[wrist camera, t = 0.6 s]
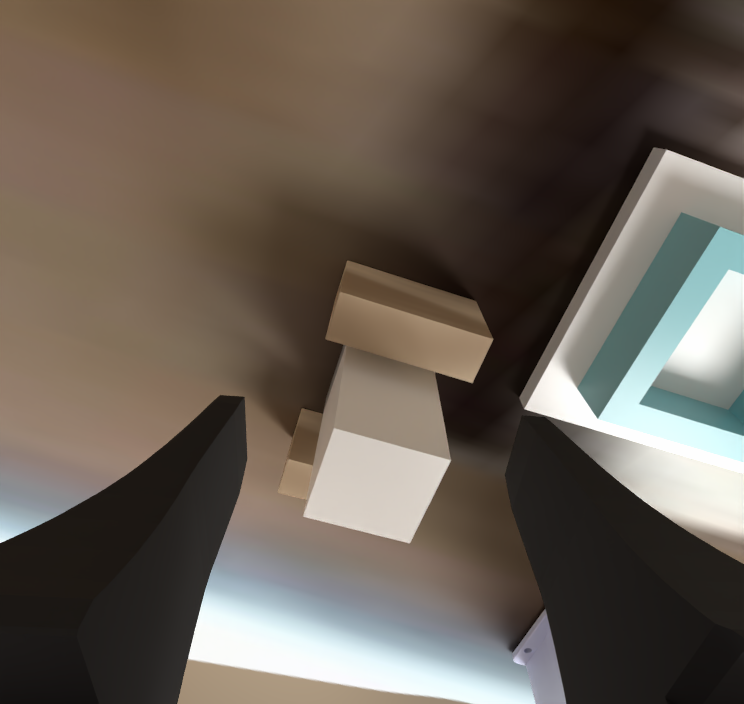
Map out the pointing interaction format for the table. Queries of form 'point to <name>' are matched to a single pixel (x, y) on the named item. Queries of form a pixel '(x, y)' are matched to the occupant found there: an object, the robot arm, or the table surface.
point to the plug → (378, 447)
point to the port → (658, 320)
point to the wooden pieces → (392, 343)
